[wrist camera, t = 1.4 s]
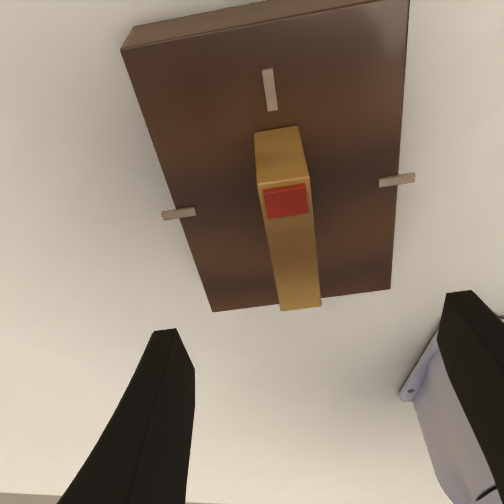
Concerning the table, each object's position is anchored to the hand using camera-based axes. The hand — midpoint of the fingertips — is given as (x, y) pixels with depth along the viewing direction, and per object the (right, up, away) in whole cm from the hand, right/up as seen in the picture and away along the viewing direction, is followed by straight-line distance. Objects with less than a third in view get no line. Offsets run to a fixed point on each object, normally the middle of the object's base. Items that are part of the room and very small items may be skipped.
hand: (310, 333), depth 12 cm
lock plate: (0, +6, +8) cm, 10 cm away
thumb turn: (0, +5, +6) cm, 7 cm away
